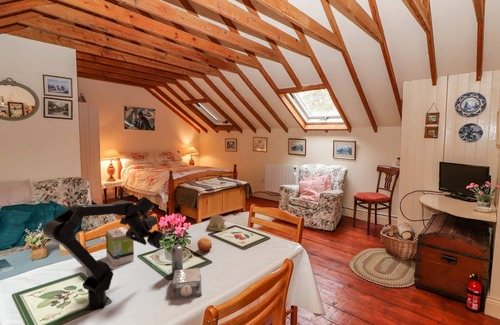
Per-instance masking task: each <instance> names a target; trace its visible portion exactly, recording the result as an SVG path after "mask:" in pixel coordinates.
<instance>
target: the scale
mask: <svg viewBox="0 0 500 325" xmlns="http://www.w3.org/2000/svg"><path fill="white" fill-rule="evenodd" d="M192 297H202V275H201V273H200V286H198V287H196V282H189V283H179V284H176V289H173V284H172V287H171V293H170V299H171V300H174V299H175V300H176V299H183V298H184V299H185V298H192Z"/></svg>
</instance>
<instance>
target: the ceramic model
mask: <svg viewBox="0 0 500 325" xmlns="http://www.w3.org/2000/svg"><path fill="white" fill-rule="evenodd" d="M225 222H226V218H224V216H222V215H219V214H216V215H212V216H211V217H210V219H209V223H208V224H207V226H206V228H207V230H211V231H216V232H224V231H226V230H227V225H226V224H225Z"/></svg>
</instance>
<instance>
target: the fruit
mask: <svg viewBox="0 0 500 325" xmlns="http://www.w3.org/2000/svg"><path fill="white" fill-rule="evenodd" d="M212 245H213V243H212V240H210V238H208V237H201V238H200V239H199V240H198V241H197V251H198V250H199V251H200V252H202V253H206V252H207V251H210V250H211V249H212V247H213V246H212Z"/></svg>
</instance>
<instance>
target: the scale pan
mask: <svg viewBox="0 0 500 325" xmlns="http://www.w3.org/2000/svg"><path fill="white" fill-rule="evenodd" d="M200 269H201V268H200V267H195V268H183V270H175V271H174V275H173V279H172V285H173V289H176V284H179V283H189V282H196V287H198V286H200V274H201V272H200V271H201V270H200Z"/></svg>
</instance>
